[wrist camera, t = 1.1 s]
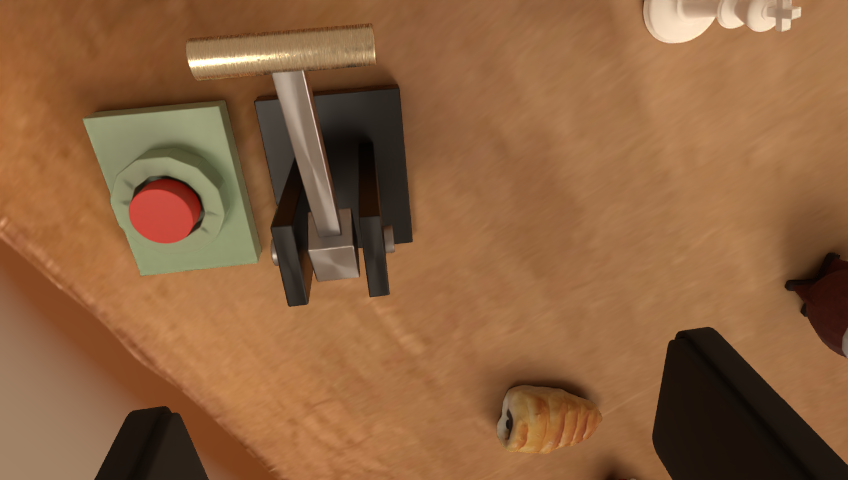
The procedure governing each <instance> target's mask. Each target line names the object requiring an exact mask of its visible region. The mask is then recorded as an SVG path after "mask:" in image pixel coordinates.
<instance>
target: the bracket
mask: <svg viewBox="0 0 848 480" xmlns="http://www.w3.org/2000/svg"><path fill="white" fill-rule="evenodd" d="M313 97H314V101H315V106H316V110H317V115H318V119H319V124H320V128H321V133H322V137H323V142H324V146H325V151H326V155H327V160H328V164H329V169H330V173H331V178H332V182H333V187H334V191H335V196H336V200H337V205H338V209H344V208H351V209H352V214H353V219H354V224H355V229H356V235H357V240H358V248H363V253H364V260H365V268H366V275H367V282H368V289H369V296H370V297H376V296H385V295H389V294H390V293H389V283H388V273H387V263H386V253H394V252H395V248H394V244H400V243H409V242H413V239H412V228H411V216H410V205H409V193H408V182H407V170H406V159H405V147H404V136H403V125H402V113H401V102H400V90H399V86H398V84H396V85H385V86H374V87H363V88H353V89H342V90H331V91H320V92H313ZM254 103H255V108H256V112H257V117H258V121H259V126H260V131H261V135H262V140H263V144H264V149H265V154H266V158H267V163H268V167H269V172H270V177H271V181H272V186H273V190H274V195H275V200H276V204H277V210H276V213H275V216H274V219H273V222H272V224H271V228H270V229H271V233H272V237H273V239H272V240H271V255H272V260H273V263H274V265H275V266H279V268H280V272H281V277H282V281H283V286H284V290H285V294H286V299H287V303H288V306H289V307H291V306H299V305H307V304H308V302H309V295H310V289H311V282H312V275H313V267H312V264H311V261H310V258H309V255H308V252H307V213H308V212H311V210H310V206H309V203H308V199H307V196H306V192H305V189H304V185H303V182H302V178H301V175H300V172H299V168H298V165H297V161H296V158H295V154H294V151H293V147H292V144H291V141H290V137H289V134H288V130H287V127H286V123H285V120H284V116H283V113H282V110H281V106H280V103H279V99H278V96H277V95H276V96H265V97H257V99H256V100H255V101H254Z"/></svg>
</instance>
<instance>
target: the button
mask: <svg viewBox="0 0 848 480" xmlns="http://www.w3.org/2000/svg"><path fill="white" fill-rule="evenodd" d="M199 216H200V203H199V200H198V198H197V196H196V195H195V193H194V192H193V191H192V190H191V189H190V188H189V187H188V186H186V185H185V184H183V183H181V182H179V181H176V180H172V179H158V180H154V181H152V182H150V183H148V184H147V185H146V186H145V187H144V188H143V189H142V190H141V191H140V192H139V193H138V194H137V195H136V196H135V197H134V198H133V199H132V201H131V203H130V206H129V218H130V221H131V223H132V225H133V227H134V228H135V229H136V230H137V231H138V233H140V234H141V235H142V236H143V237H145V238H147V239H149V240H151V241H153V242H157V243H164V244H168V243H175V242H178V241H180V240H182V239H184V238H185V237H186V236H187V235H188V234H189V233H190V231H191V230H192V228H193V227H194V225H195V224H196V222H197V220H198V219H199Z"/></svg>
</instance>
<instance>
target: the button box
mask: <svg viewBox="0 0 848 480" xmlns="http://www.w3.org/2000/svg"><path fill="white" fill-rule="evenodd" d="M82 120H83V122H84V125H85V128H86V130H87V133H88V136H89V138H90V141H91V144H92V146H93V149H94V152H95V154H96V157H97V160H98V162H99V165H100V168H101V170H102V173H103V176H104V178H105V181H106V184H107V186H108V189H109V192H110V194H111V197H110V203H111V206H112V209H113V211H114V214H115V217H116V219H117V222H118V224H119V226H120V227H121V228H122V229H123V230H124V232H125V234H126V237H127V240H128V242H129V245H130V248H131V250H132V253H133V256H134V258H135V261H136V264H137V266H138V269H139V272H140V274H141V276H146V275H155V274H163V273H172V272H181V271H190V270H199V269H208V268H216V267H225V266H234V265H243V264H252V263H258V261H259V258H260V255H261V252H262V250H261V246H260V242H259V238H258V234H257V230H256V226H255V222H254V217H253V213H252V209H251V205H250V201H249V197H248V193H247V189H246V184H245V180H244V176H243V172H242V168H241V164H240V160H239V156H238V152H237V147H236V143H235V139H234V135H233V131H232V127H231V123H230V119H229V114H228V110H227V106H226V102H225V100H221V101H210V102H199V103H188V104H177V105H167V106H156V107H145V108H134V109H123V110H112V111H101V112H94V113H92V114H90V115H88V116H87V117H85V118H83V119H82ZM158 179H172V180H176V181H179V182H181V183H183V184H185V185H186V186H188V187H189V188H190V189H191V190H192V191H193V192H194V193H195V195H196V196H197V198H198V200H199V203H200V216H199V219H198V220H197V222H196V224H195V225H194V227H193V228H192V230H191V231H190V233H189V234H188V235H187V236H186V237H185V238H184V239H182V240H180V241H178V242H175V243H168V244H164V243H157V242H153V241H151V240H149V239H147V238H145V237H143V236H142V235H141V234H140V233H138V231H137V230H136V229H135V228H134V227H133V225H132V223H131V221H130V218H129V206H130V203H131V201H132V199H133V198H134V197H135V196H136V195H137V194H138V193H139V192H140V191H141V190H142V189H143V188H144V187H145V186H146V185H147V184H148V183H150V182H152V181H154V180H158Z"/></svg>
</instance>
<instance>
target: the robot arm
mask: <svg viewBox="0 0 848 480" xmlns="http://www.w3.org/2000/svg"><path fill="white" fill-rule="evenodd" d="M652 439H653V445H654V448H655V451H656V453H657V455H658V456H659V458H660V460H661V461H662V463H663V465H664V466H665V468H666V470H667V471H668V473H669V475H670V476H671V478H672V480H848V465H847V464H846V463H845V462H844V461H843V460H842V459H841V458H840V457H839V456H838V455H837V454H836V453H835V452H834V451H833V450H832V449H831V448H830V447H829V446H828V445H827V444H826V443H825V442H824V440H823V439H822V438H821V437H820V436H819V435H818V434H817V433H816V432H815V431H814V430H813V429H812V428H811V427H810V426H809V425H808V424H807V423H806V422H805V421H804V420H803V419H802V418H801V417H800V416H799V415H798V414H797V413H796V412H795V411H794V410H793V409H792V408H791V407H790V406H789V405H788V403H787V402H786V401H785V400H784V399H782V398H781V397H780V396H779V395H778V394H777V393H776V392H775V391H774V390H773V389H772V387H771V386H770V385H769V384H768V383H767V382H766V381H765V380H764V379H763V378H762V377H761V376H760V375H759V374H758V373H757V372H756V371H755V370H754V369H753V368H752V367H751V366H750V365H749V364H748V363H747V362H746V361H745V360H744V359H743V358H742V357H741V356H740V355H739V354H738V352H737V351H736V350H735V349H734V348H733V347H732V346H731V345H730V344H729V343H728V342H727V341H726V340H725V339H724V338H723V337H722V336H721V335H720V334H719V333H718V332H717V331H716V330H715V329H713V328H711V327H704V328H697V329H690V330H684V331H679V332H678V333H677V334H676V337H675V340H671V341H670V342H669V344H668V348H667V354H666V359H665V365H664V371H663V377H662V382H661V388H660V394H659V399H658V405H657V411H656V416H655V422H654V428H653V434H652ZM94 480H209V479H208V477H207V475H206V473H205V470H204V468H203V466H202V463H201V461H200V459H199V457H198V454H197V452H196V450H195V448H194V445H193V443H192V440H191V438H190V436H189V434H188V431H187V429H186V427H185V425H184V422H183V420H182V418H181V416H180V414H178V413H172V412H171V411H170V409H169V408H168V407H166V406H162V407H155V408H148V409H141V410H135V411H132V412H130V413H129V414H128V416H127V417H126V419H125V421H124V423H123V425H122V427H121V429H120V430H119V433H118V435H117V436H116V438H115V440H114V442H113V444H112V446H111V448H110V450H109V452H108V454H107V456H106V458H105V460H104V462H103V464H102V466H101V468H100V470H99V472H98V474H97V476H96V478H95V479H94Z"/></svg>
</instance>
